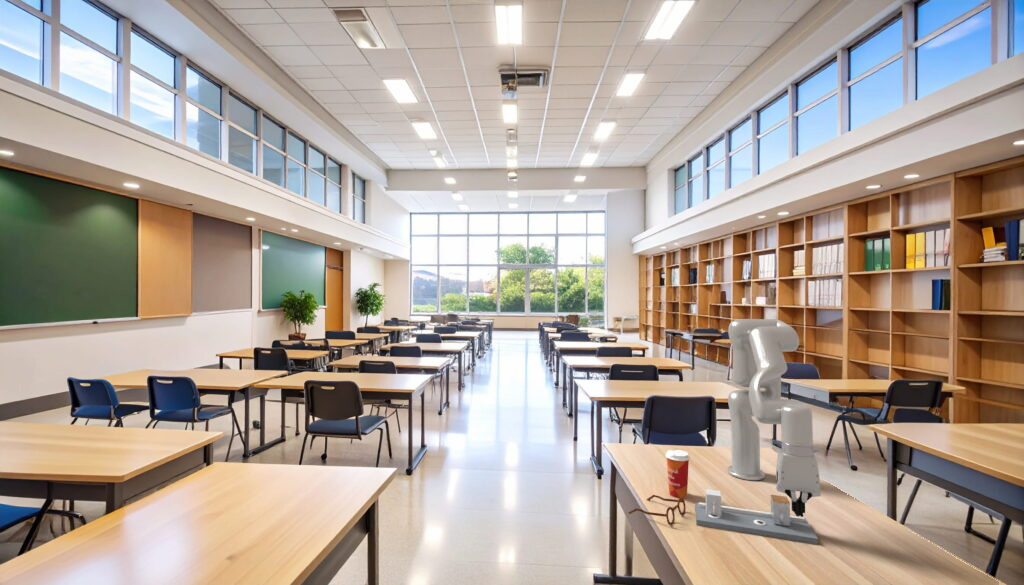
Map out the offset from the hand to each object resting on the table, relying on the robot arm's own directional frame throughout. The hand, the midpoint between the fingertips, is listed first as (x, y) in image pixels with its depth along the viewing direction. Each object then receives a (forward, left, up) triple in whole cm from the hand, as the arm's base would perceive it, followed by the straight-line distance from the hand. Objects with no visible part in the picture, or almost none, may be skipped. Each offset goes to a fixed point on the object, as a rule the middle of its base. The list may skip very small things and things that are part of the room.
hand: (798, 514), depth 125 cm
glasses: (+2, -38, -5) cm, 39 cm away
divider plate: (+1, -12, -5) cm, 13 cm away
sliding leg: (0, -4, -3) cm, 5 cm away
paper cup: (-13, -32, -5) cm, 35 cm away
